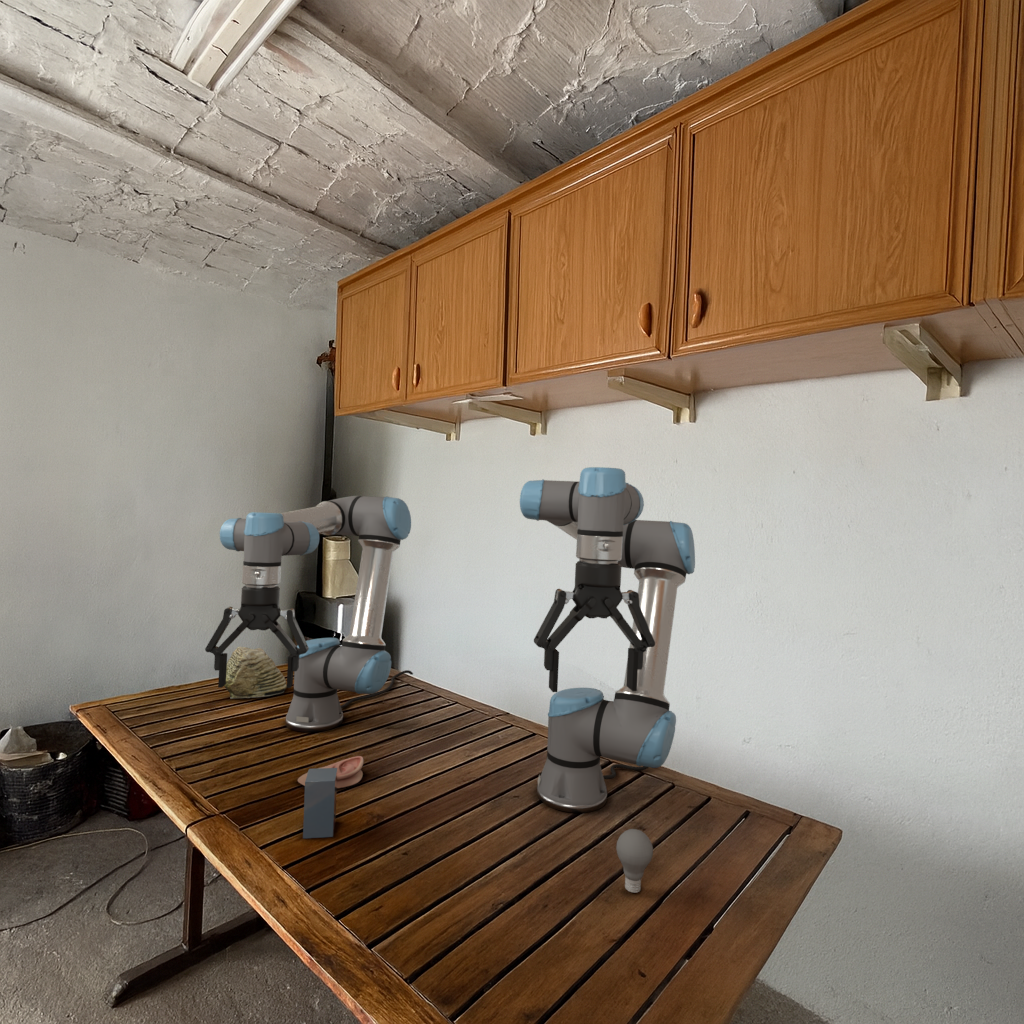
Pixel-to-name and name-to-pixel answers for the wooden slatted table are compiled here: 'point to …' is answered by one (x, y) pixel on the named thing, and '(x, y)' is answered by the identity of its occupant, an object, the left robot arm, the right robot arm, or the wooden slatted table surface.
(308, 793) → the brick
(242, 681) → the fossil
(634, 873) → the light bulb
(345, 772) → the anatomical model
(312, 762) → the wooden slatted table surface
